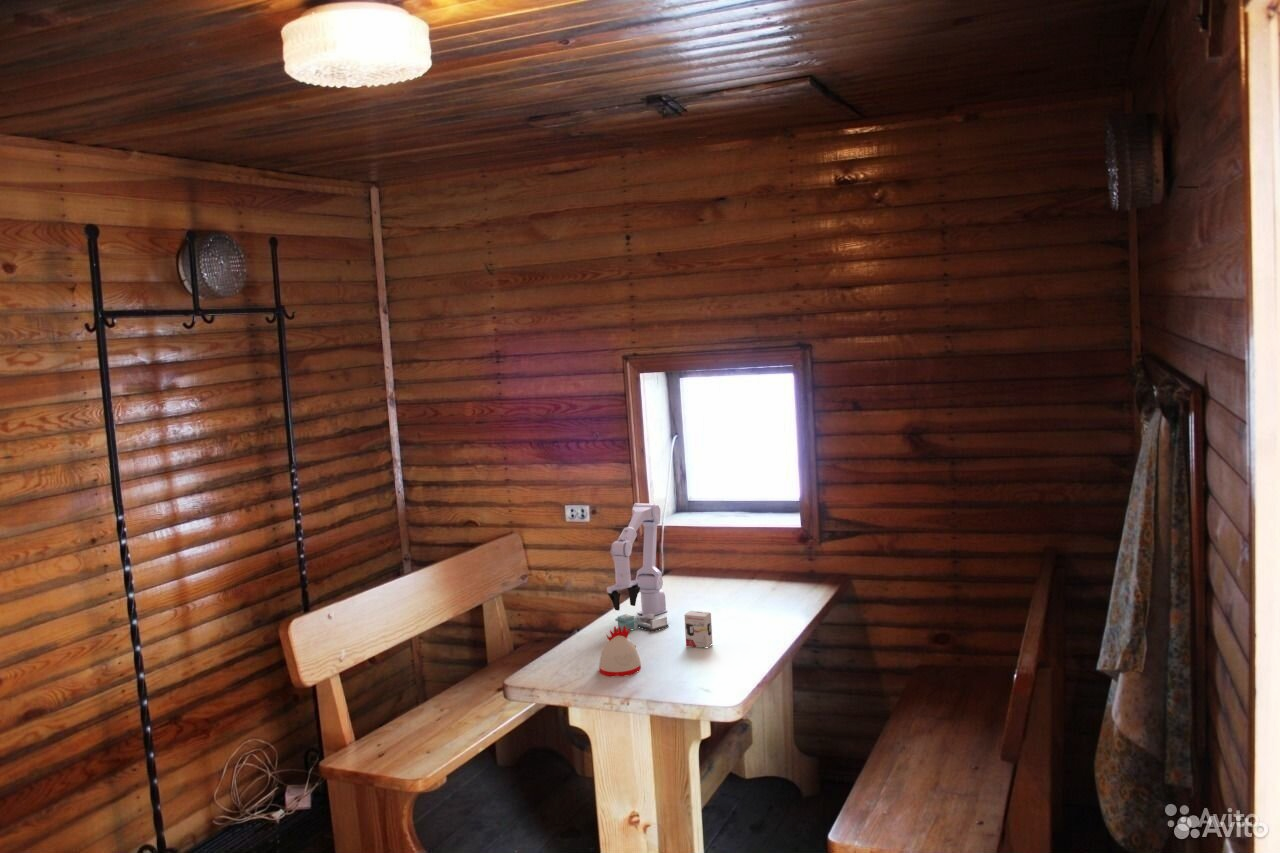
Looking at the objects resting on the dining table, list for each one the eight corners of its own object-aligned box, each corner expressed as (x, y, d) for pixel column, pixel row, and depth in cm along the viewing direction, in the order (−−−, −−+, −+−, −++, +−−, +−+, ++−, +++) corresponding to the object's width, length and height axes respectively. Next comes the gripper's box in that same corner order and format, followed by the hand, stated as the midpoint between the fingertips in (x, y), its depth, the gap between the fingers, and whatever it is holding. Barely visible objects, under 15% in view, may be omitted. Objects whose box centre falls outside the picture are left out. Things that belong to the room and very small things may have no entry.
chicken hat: (645, 672, 337) (642, 628, 336) (605, 679, 333) (602, 634, 332) (634, 660, 350) (631, 617, 349) (595, 666, 347) (592, 623, 345)
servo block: (624, 626, 391) (623, 611, 390) (637, 630, 385) (636, 615, 384) (615, 628, 389) (614, 614, 388) (628, 632, 382) (627, 618, 382)
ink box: (685, 646, 361) (683, 614, 360) (691, 642, 366) (689, 610, 364) (707, 648, 357) (705, 616, 356) (713, 644, 362) (711, 612, 360)
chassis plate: (653, 622, 393) (652, 612, 393) (668, 626, 386) (667, 616, 386) (637, 627, 388) (636, 617, 388) (652, 632, 381) (651, 621, 381)
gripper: (613, 578, 377) (616, 613, 378) (644, 570, 386) (646, 605, 387) (602, 575, 382) (604, 610, 384) (632, 567, 391) (634, 602, 393)
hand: (625, 607), depth 386 cm, fingers open, 7 cm apart
